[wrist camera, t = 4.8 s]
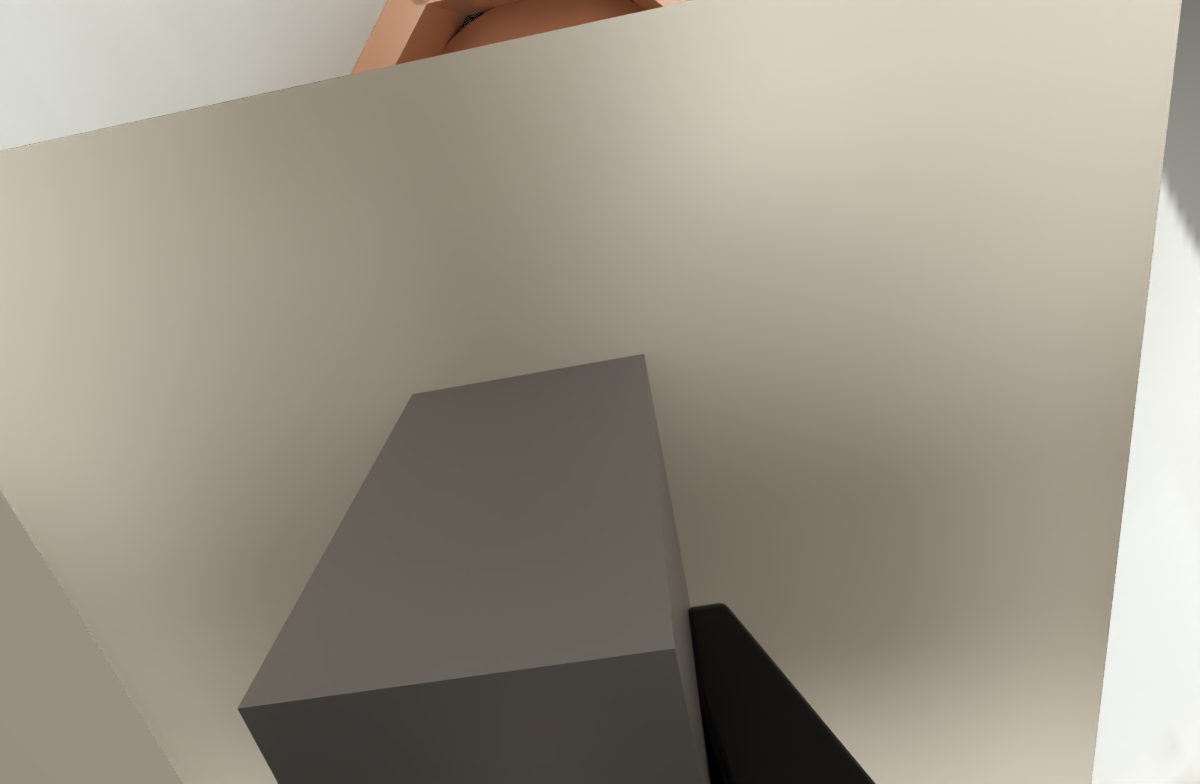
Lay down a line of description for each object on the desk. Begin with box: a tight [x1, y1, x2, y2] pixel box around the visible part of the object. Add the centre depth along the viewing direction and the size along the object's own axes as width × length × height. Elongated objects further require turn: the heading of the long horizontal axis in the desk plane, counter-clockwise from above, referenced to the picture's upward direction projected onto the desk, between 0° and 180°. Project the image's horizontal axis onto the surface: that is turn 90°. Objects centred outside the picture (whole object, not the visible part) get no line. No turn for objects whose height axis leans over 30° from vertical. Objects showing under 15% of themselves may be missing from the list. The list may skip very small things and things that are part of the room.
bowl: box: [351, 0, 692, 74], centre depth 17 cm, size 9×9×4 cm
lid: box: [0, 0, 1182, 784], centre depth 7 cm, size 12×12×5 cm
